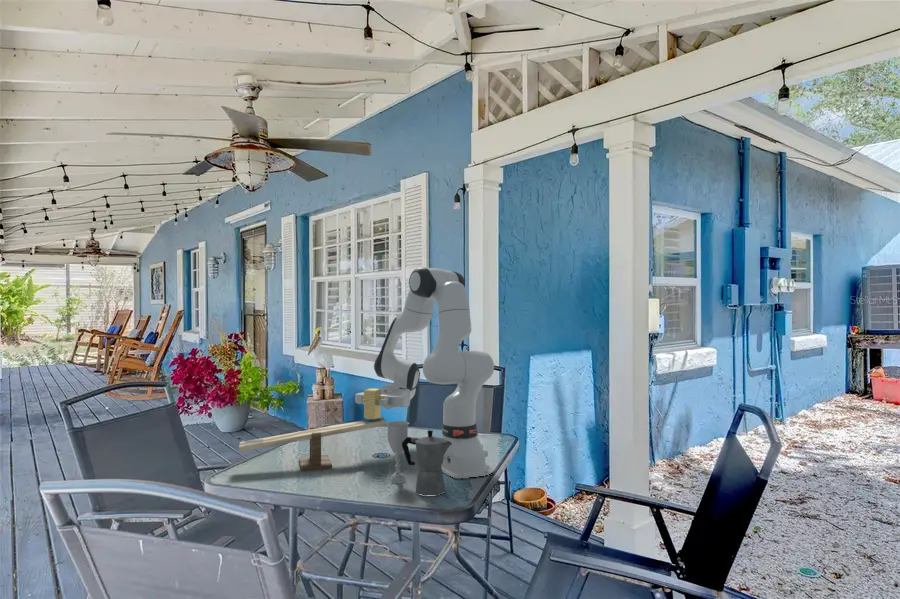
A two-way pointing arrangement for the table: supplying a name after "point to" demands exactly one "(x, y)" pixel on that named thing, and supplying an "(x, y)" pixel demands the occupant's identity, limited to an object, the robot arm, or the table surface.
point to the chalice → (397, 445)
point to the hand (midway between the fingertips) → (371, 402)
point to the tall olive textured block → (372, 403)
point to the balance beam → (310, 434)
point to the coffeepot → (428, 462)
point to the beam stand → (315, 456)
